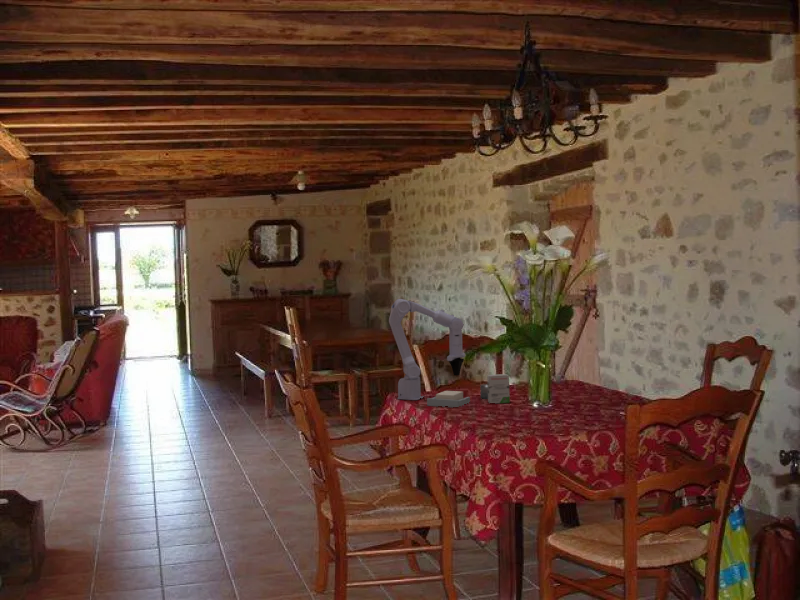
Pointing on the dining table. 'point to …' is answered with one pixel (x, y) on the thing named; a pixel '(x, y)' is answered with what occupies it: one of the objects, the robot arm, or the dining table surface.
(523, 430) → the dining table surface
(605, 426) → the dining table surface
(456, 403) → the display stand
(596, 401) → the dining table surface
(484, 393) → the grey glossy ball
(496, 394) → the ink box
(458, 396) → the carton
